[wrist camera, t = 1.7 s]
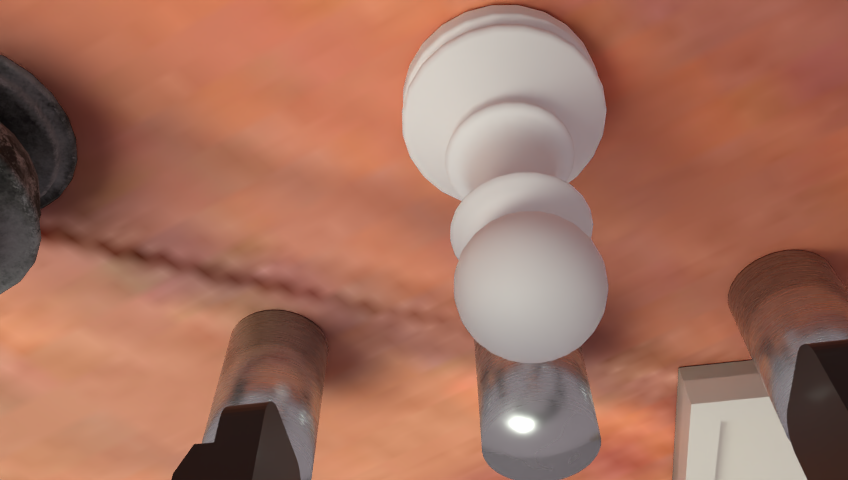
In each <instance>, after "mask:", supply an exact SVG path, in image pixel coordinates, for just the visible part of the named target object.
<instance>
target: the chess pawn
mask: <svg viewBox="0 0 848 480" xmlns="http://www.w3.org/2000/svg"><path fill="white" fill-rule="evenodd" d="M606 111H607V109H606V103H605V96H604V90H603V85H602V83H601V81H600V79H599V77H598V74H597V70H596V68H595V65H594V63H593V61H592V59H591V57H590V55H589V53H588V51H587V49H586V47H585V45H584V43H583V42H582V41H581V40H580V39H579V37H578V36H577V35H576V34H575V33H574V32H573V31H572V30H571V29H570V28H569V27H568V26H567V25H566V24H564V23H563V22H561V21H559V20H557V19H556V18H554V17H552V16H551V15H549V14H547V13H545V12H543V11H539V10H535V9H532V8H528V7H524V6H520V5H490V6H487V7H483V8H479V9H475V10H471V11H468V12H464V13H463V14H461V15H459V16H457V17H455V18H454V19H452V20H450V21H448V22H447V23H445V24H443V25H441V26H440V27H439V28H438V29H437V30H436V31H435V32H434V33H433V34H432V35H431V36H430V37H429V38H428V39H427V40H426V41H425V42H424V43H423V44H422V45H421V47H420V49H419V50H418V52H417V54H416V55H415V57H414V59H413V60H412V62H411V64H410V65H409V69H408V73H407V77H406V80H405V84H404V88H403V109H402V127H403V137H404V140H405V143H406V146H407V149H408V152H409V155H410V158H411V159H412V161H413V162H414V163H415V165H416V166H417V168H418V169H419V171H420V172H421V173H422V175H423V176H424V177H425V178H426V179H427V180H428V181H430V182H431V183H432V184H433V185H434V186H436V187H437V188H438V189H439V190H440V191H442V192H444V193H446V194H448V195H450V196H452V197H454V198H456V199H458V200H460V201H462V202H461V203H460V205H459V206H458V207H457V209H456V211H455V213H454V216H453V219H452V222H451V227H450V241H451V244H452V247H453V250H454V253H455V256H456V257H457V258H458V260H459V261H458V264H457V266H456V270H455V275H454V299H455V303H456V306H457V309H458V312H459V315H460V318H461V320H462V322H463V324H464V326H465V327H466V329H467V330H468V331H469V333H470V334H471V335H472V337H473V338H474V339H475V340H476V341H477V342H478V343H479V344H480V345H482V346H483V347H484V348H486V349H487V350H488V351H490V352H491V353H493V354H495V355H497V356H499V357H502V358H504V359H507V360H510V361H515V362H520V363H542V362H547V361H553V360H555V359H558V358H561V357H563V356H566V355H568V354H569V353H571V352H572V351H574V350H576V349H577V348H579V347H580V346H581V345H582V344H583V343H584V342H585V341H586V340H587V339H588V338H589V337H590V336H591V335H592V334H593V333H594V331H595V330H596V328H597V326H598V324H599V322H600V320H601V318H602V316H603V314H604V311H605V307H606V301H607V295H608V280H607V275H606V269H605V264H604V261H603V259H602V256H601V255H600V253H599V251H598V250H597V248H596V246H595V244H594V243H593V241H592V240H591V236H592V229H593V221H592V215H591V210H590V208H589V206H588V204H587V202H586V201H585V199H584V197H583V195H582V194H580V193H579V192H578V191H577V190H576V189H575V188H574V187H573V186H572V185H571V184H569V182H570V181H572V180H573V179H574V178H576V177H577V176H578V175H579V174H580V172H581V171H582V170H583V169H584V167H585V166H586V165H587V164H588V163H589V161H590V160H591V159H592V158H593V156H594V154H595V151H596V149H597V147H598V145H599V143H600V140H601V138H602V136H603V132H604V125H605V118H606Z"/></svg>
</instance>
